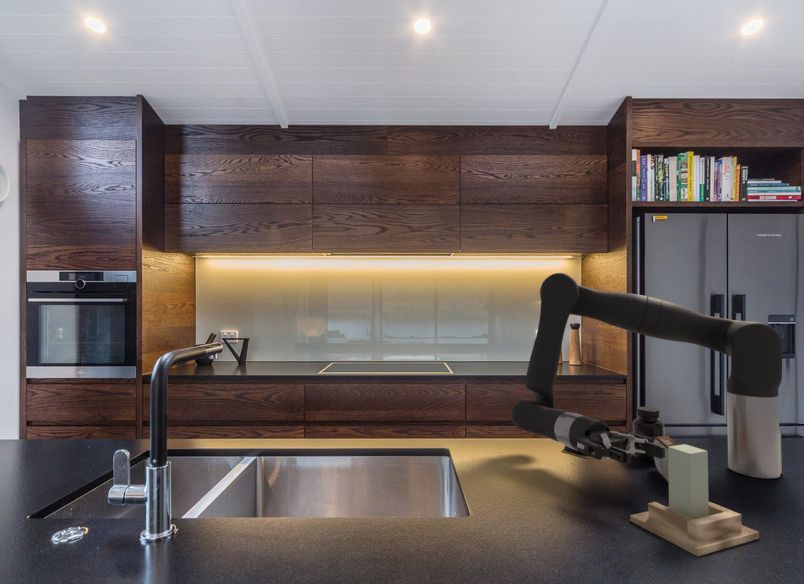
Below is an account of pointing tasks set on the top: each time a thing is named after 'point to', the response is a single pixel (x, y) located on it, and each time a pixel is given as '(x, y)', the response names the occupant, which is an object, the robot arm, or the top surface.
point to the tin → (663, 463)
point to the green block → (688, 480)
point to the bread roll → (574, 452)
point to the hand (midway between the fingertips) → (646, 455)
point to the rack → (696, 528)
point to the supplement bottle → (648, 428)
